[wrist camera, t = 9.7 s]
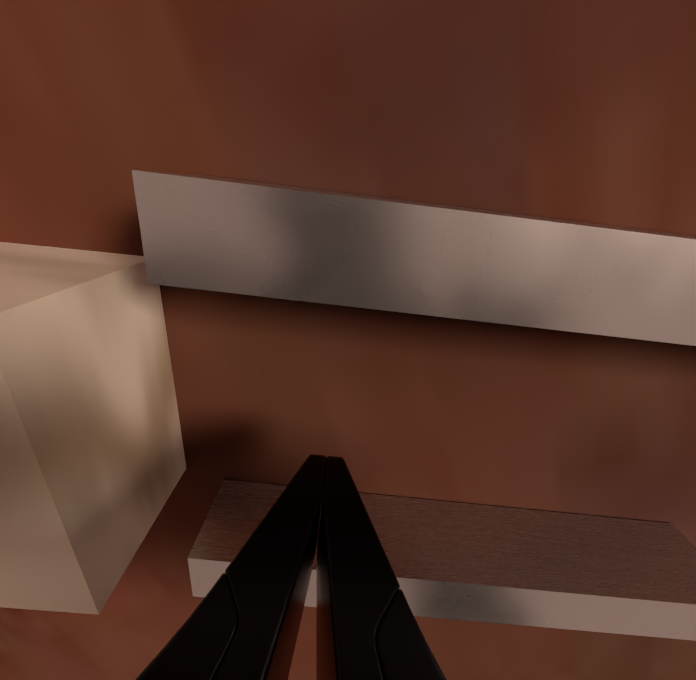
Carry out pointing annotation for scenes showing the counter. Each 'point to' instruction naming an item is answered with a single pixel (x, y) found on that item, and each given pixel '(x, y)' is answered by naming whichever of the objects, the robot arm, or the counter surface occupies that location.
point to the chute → (460, 303)
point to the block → (80, 423)
